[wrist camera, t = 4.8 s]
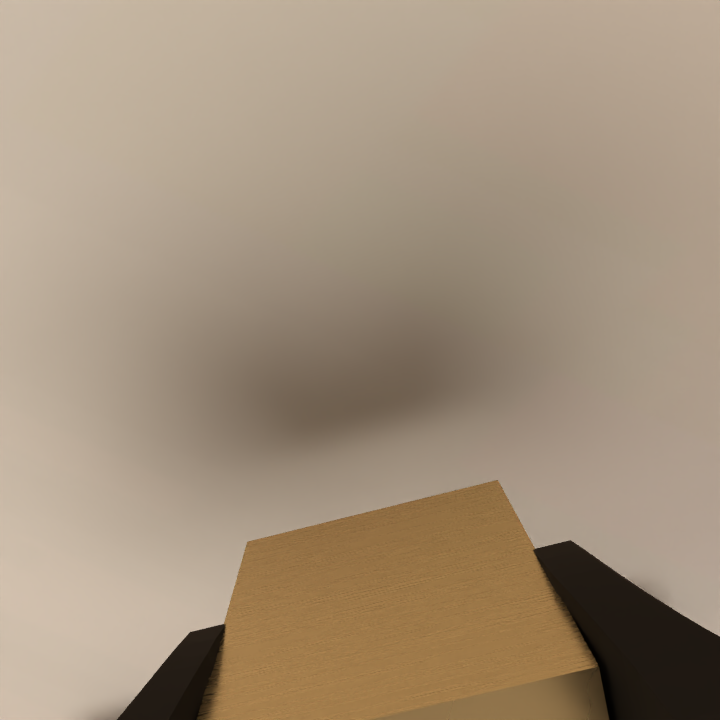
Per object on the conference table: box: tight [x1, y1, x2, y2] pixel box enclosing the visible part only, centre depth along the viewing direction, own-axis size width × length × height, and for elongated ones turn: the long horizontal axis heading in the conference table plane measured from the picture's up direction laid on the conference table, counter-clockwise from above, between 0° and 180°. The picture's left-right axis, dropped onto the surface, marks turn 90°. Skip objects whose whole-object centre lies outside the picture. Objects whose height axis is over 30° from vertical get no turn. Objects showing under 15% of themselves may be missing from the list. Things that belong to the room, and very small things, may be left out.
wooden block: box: [197, 480, 609, 720], centre depth 10 cm, size 5×2×5 cm, turn 104°
